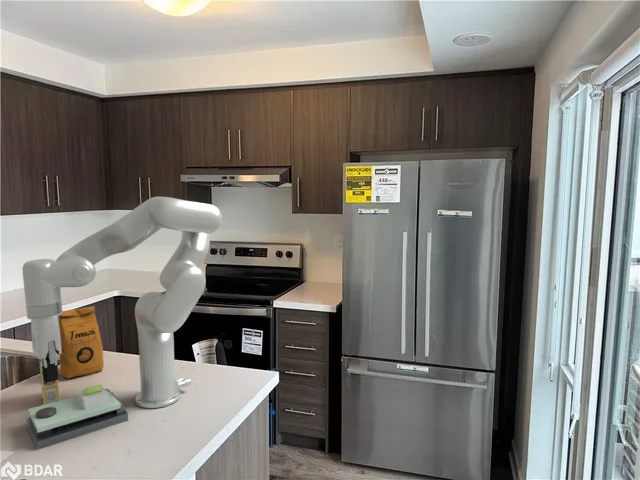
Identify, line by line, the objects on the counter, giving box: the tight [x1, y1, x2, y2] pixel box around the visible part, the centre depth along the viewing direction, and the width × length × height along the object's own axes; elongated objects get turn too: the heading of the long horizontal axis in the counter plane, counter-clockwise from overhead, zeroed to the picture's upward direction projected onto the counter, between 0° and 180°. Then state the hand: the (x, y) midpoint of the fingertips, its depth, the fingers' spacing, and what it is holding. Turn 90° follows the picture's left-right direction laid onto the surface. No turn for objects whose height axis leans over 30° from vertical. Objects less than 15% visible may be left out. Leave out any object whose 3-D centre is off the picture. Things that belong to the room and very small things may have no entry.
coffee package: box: [58, 305, 105, 379], centre depth 151 cm, size 10×12×22 cm
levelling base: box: [25, 391, 129, 450], centre depth 121 cm, size 21×14×3 cm, turn 131°
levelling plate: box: [27, 384, 123, 433], centre depth 120 cm, size 20×12×5 cm, turn 131°
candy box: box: [38, 359, 61, 405], centre depth 133 cm, size 9×4×15 cm, turn 33°
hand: (51, 380), depth 116 cm, fingers closed
